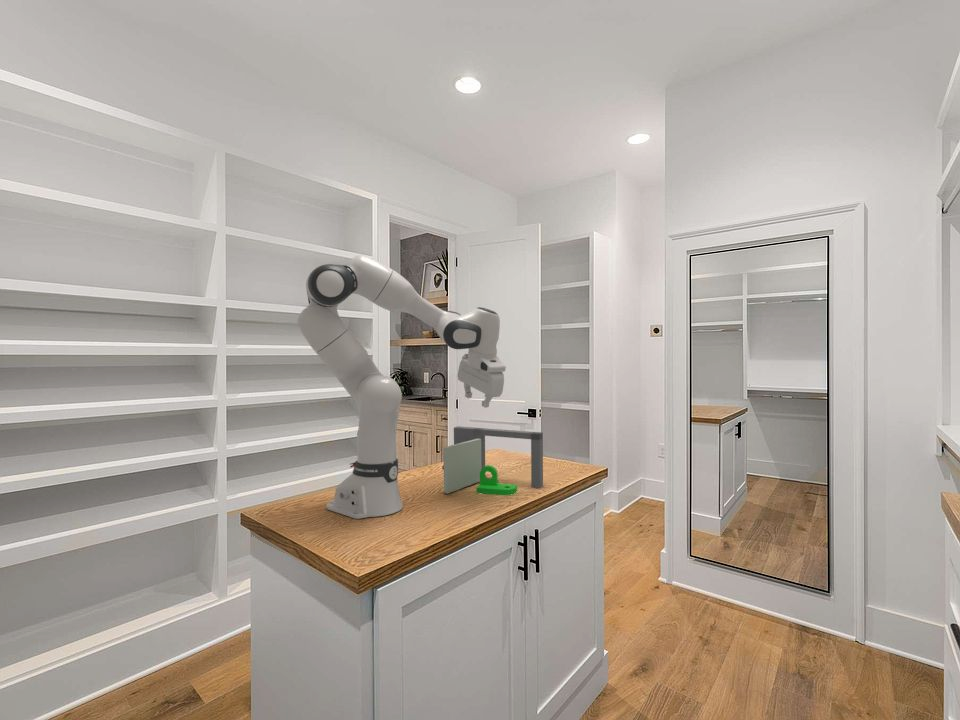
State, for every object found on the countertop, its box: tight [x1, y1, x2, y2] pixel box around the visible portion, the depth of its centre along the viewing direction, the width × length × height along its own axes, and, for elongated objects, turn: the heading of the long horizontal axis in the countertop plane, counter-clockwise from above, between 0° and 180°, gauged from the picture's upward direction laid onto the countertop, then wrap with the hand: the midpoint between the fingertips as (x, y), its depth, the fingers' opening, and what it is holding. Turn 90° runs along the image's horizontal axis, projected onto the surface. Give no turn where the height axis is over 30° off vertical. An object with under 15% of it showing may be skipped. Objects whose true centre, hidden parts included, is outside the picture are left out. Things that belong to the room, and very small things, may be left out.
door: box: [442, 439, 481, 495], centre depth 159 cm, size 18×3×14 cm, turn 143°
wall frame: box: [453, 426, 544, 489], centre depth 166 cm, size 32×3×18 cm, turn 63°
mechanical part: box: [476, 464, 518, 496], centre depth 154 cm, size 12×6×8 cm, turn 75°
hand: (476, 402), depth 153 cm, fingers open, 8 cm apart
